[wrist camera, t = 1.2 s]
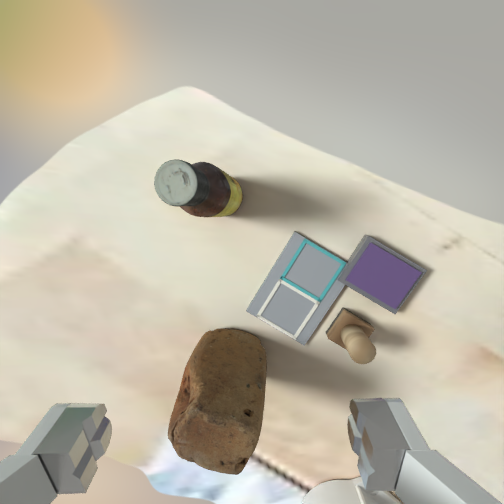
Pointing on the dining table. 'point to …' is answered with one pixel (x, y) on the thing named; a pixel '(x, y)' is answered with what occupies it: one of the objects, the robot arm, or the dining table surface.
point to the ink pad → (381, 274)
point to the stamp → (353, 336)
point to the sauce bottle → (198, 188)
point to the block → (220, 401)
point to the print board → (299, 289)
